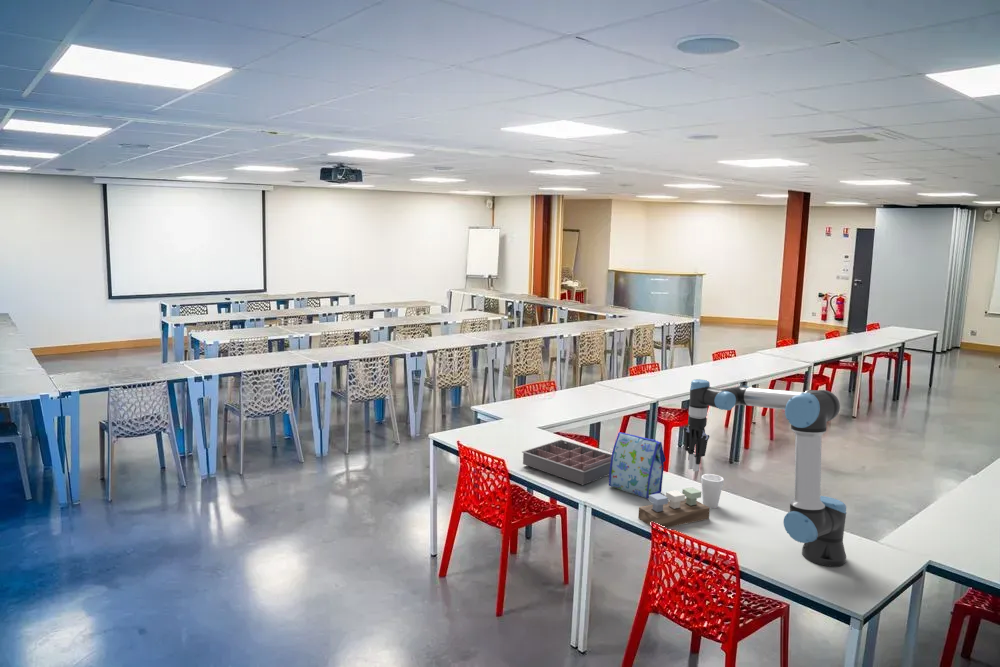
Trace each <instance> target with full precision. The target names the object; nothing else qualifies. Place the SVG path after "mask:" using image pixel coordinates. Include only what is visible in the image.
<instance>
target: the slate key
mask: <svg viewBox="0 0 1000 667" xmlns="http://www.w3.org/2000/svg"><path fill="white" fill-rule="evenodd" d="M648 501H649V502H650V503H651V504H652V505H653V510H654V511H656V512H660V511H663V504H668V502H669V499H668V498H667V497H666V495H663V494H662V493H658V494H652V495H649V499H648Z"/></svg>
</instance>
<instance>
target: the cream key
mask: <svg viewBox="0 0 1000 667" xmlns="http://www.w3.org/2000/svg"><path fill="white" fill-rule="evenodd" d="M665 496H666V497H667V498H668V501H670V505H669V506H670V507H672V508H674V509H676V508H680V501H685V498H686V496H685V495H684V494H682V492H680V491H679V490H677V489H676V490H675V489H674V490H671V491H670V490H669V491H666V493H665Z"/></svg>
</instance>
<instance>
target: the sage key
mask: <svg viewBox="0 0 1000 667" xmlns="http://www.w3.org/2000/svg"><path fill="white" fill-rule="evenodd" d="M681 493H682V494H684V495H685V498H686V503H687V504H689V505H696V501H698V500H697V499H701V498H702V490H701V491H700V490H699V489H697V488H695V487H688V488H682V492H681Z"/></svg>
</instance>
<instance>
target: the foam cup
mask: <svg viewBox="0 0 1000 667" xmlns="http://www.w3.org/2000/svg"><path fill="white" fill-rule="evenodd" d="M700 479H701V480H700V482H701V498H702V504H704V505H706V506H707V507H709V508H710V509H717V508H718V506H719V502H720V498H721V494H722V489H723V486H724V480H725V479H724V477H723V476H721V475H718V474H714V473H712V474H711V473H705V474H702V475H701V478H700Z"/></svg>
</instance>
